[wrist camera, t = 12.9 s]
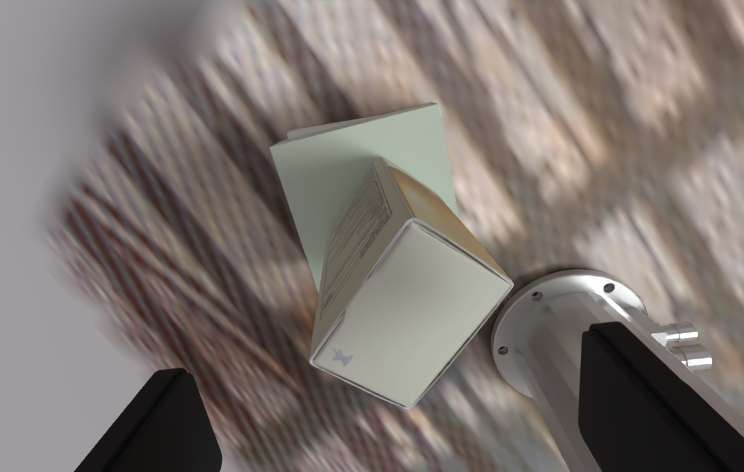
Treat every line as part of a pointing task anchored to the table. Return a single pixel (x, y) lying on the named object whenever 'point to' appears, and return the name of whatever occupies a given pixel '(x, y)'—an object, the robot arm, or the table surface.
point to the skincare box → (400, 288)
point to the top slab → (357, 168)
